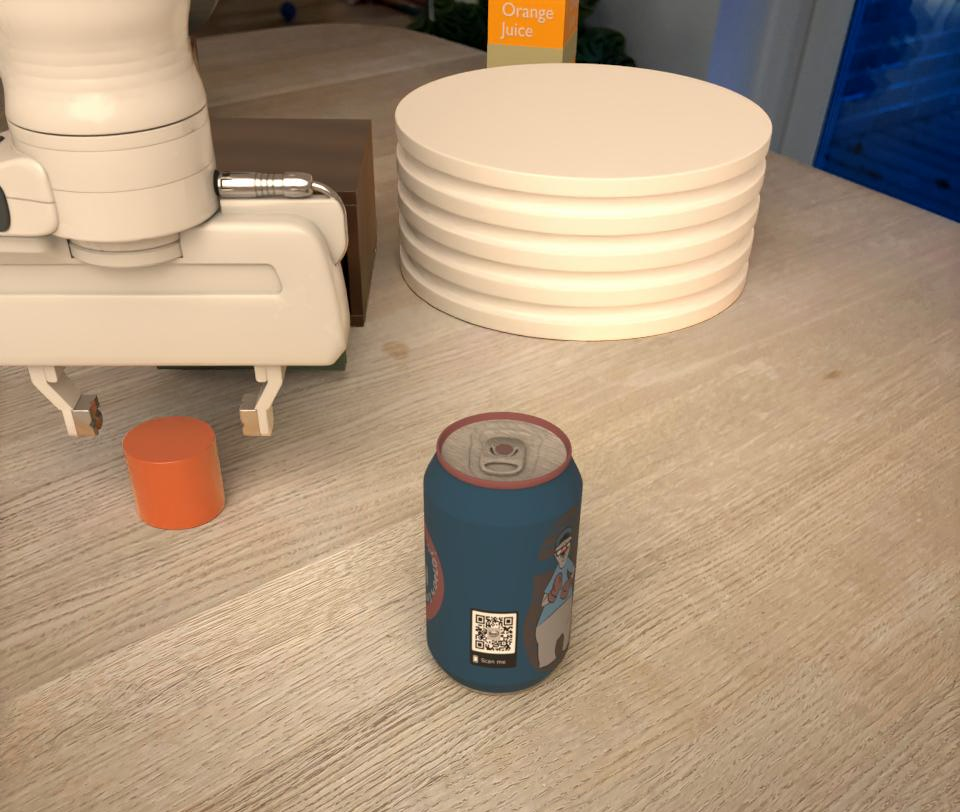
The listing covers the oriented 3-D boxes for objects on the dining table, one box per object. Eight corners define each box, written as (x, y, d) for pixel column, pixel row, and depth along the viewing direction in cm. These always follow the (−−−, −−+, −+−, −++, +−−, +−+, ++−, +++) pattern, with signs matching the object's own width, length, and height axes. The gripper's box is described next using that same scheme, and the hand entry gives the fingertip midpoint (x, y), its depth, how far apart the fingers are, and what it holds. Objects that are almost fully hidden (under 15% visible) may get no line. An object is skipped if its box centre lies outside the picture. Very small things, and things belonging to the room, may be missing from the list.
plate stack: (432, 356, 79) (430, 190, 71) (377, 211, 99) (371, 70, 92) (803, 324, 83) (838, 165, 76) (677, 191, 104) (694, 56, 96)
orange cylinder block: (128, 529, 63) (112, 462, 60) (147, 480, 67) (133, 415, 64) (217, 530, 63) (206, 463, 60) (231, 481, 67) (221, 415, 64)
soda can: (436, 606, 58) (433, 399, 50) (570, 616, 58) (588, 409, 50) (417, 699, 53) (410, 484, 45) (564, 711, 52) (583, 496, 44)
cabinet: (364, 326, 82) (355, 191, 76) (175, 325, 82) (151, 189, 76) (377, 242, 94) (371, 119, 88) (212, 241, 94) (194, 117, 88)
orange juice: (573, 115, 121) (587, -105, 108) (558, 141, 115) (571, -90, 102) (502, 109, 122) (507, -109, 109) (484, 134, 116) (487, -95, 103)
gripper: (348, 150, 55) (366, 402, 64) (-71, 150, 55) (7, 402, 64) (337, 196, 50) (358, 461, 59) (-121, 196, 50) (-30, 462, 59)
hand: (173, 431), depth 62 cm, fingers open, 8 cm apart
